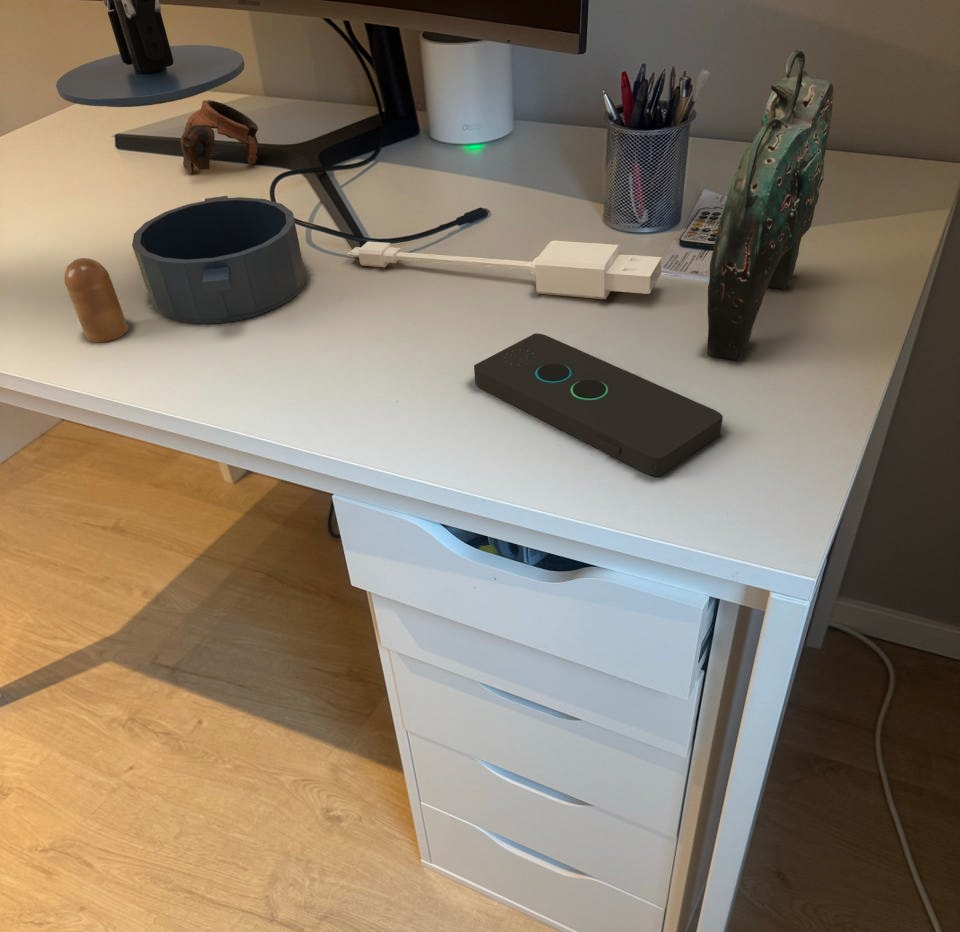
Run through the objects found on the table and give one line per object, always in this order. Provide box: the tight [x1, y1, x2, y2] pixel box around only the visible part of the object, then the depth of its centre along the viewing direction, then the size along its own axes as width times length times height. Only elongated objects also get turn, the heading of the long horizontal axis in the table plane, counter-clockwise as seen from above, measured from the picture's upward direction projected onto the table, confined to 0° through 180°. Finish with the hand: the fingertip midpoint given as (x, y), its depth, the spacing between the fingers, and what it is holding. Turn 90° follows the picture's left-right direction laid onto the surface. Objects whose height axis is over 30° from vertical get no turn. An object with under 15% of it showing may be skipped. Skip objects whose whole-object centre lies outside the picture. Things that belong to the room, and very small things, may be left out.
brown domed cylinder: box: [63, 257, 129, 343], centre depth 84 cm, size 4×4×7 cm
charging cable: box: [347, 240, 663, 300], centre depth 89 cm, size 5×32×3 cm, turn 68°
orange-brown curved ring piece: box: [180, 99, 259, 175], centre depth 116 cm, size 12×10×8 cm
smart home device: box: [473, 332, 724, 477], centre depth 72 cm, size 8×2×20 cm
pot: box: [131, 195, 306, 325], centre depth 90 cm, size 16×21×6 cm
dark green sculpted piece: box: [706, 49, 834, 361], centre depth 75 cm, size 20×6×20 cm, turn 152°
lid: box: [55, 0, 246, 108], centre depth 79 cm, size 17×17×7 cm
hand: (148, 62), depth 81 cm, fingers closed on lid, 2 cm apart
